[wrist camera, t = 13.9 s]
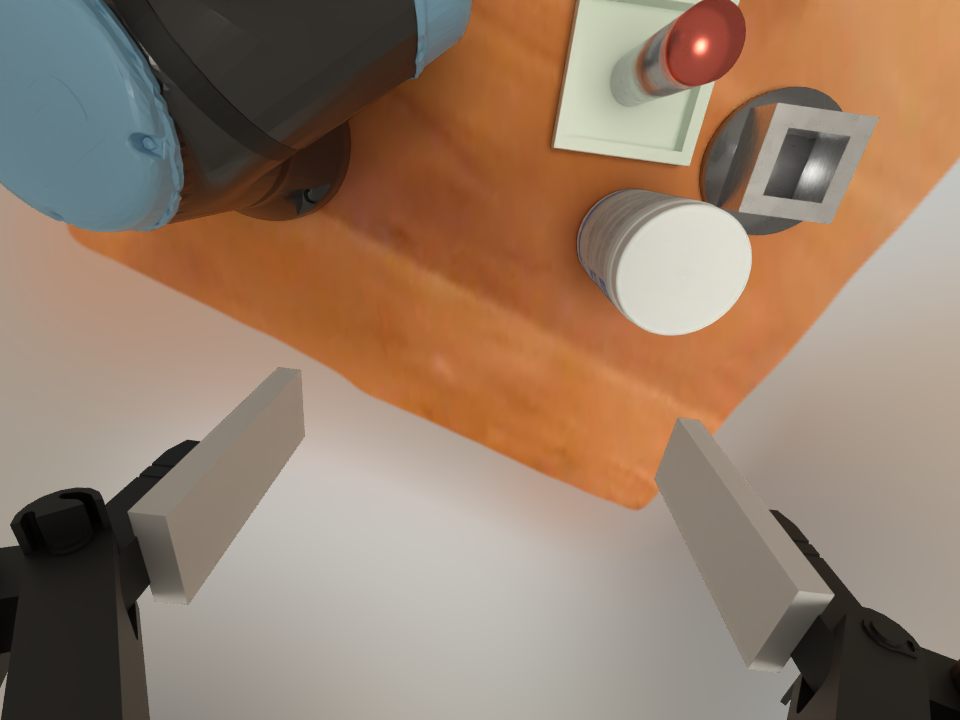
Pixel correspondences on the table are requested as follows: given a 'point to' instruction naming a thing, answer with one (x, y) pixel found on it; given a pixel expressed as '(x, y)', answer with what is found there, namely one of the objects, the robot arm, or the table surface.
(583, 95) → the tray
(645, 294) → the supplement tub
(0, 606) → the robot arm
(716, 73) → the red capped bottle
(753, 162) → the grey socket fixture
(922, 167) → the table surface
